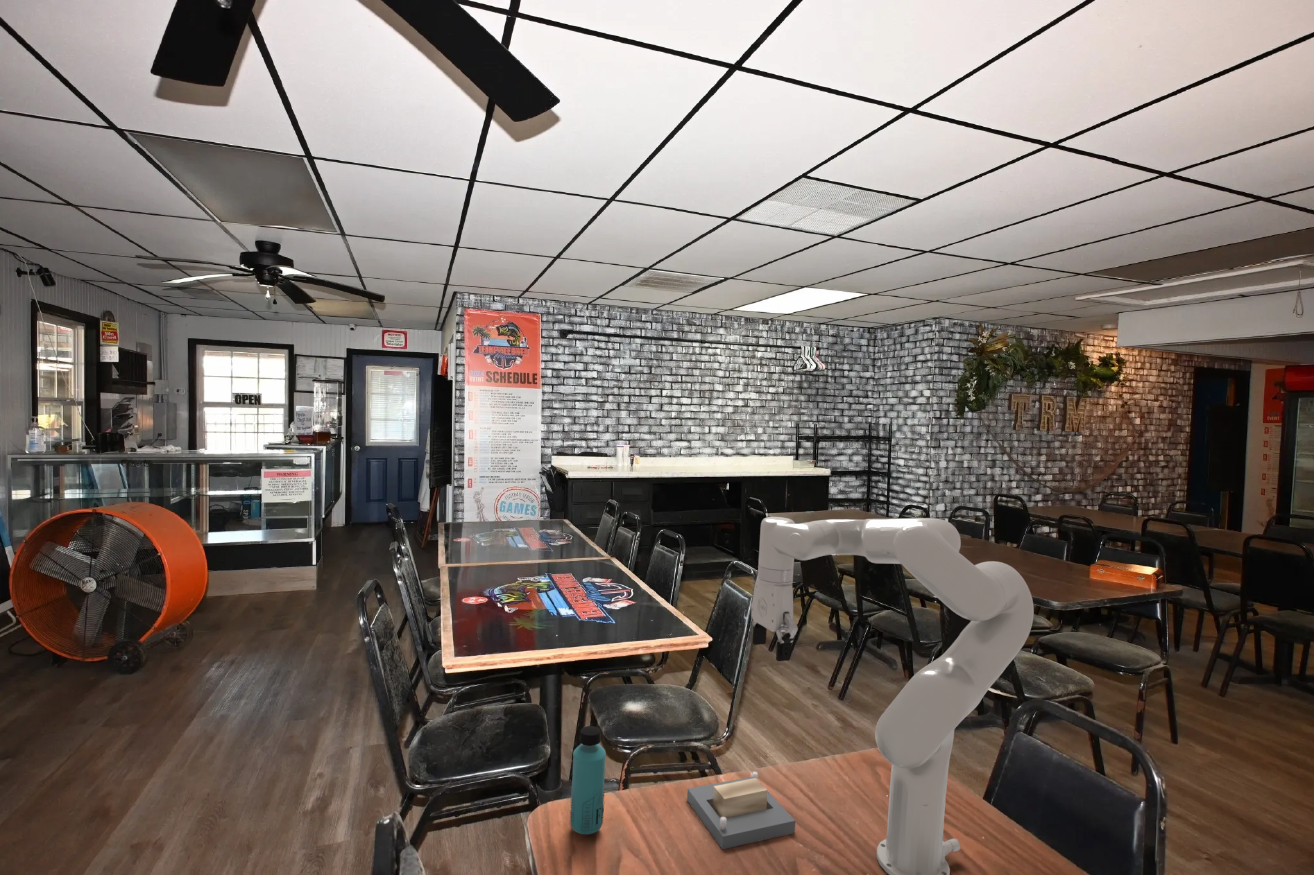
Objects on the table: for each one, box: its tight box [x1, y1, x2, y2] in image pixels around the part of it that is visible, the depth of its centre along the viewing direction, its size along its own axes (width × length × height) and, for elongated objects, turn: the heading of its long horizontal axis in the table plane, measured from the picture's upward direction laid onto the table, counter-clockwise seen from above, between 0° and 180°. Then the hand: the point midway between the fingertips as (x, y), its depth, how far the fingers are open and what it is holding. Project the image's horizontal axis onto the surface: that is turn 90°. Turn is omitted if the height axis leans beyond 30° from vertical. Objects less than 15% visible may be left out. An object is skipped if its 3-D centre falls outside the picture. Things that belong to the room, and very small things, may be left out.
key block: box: [712, 778, 769, 818], centre depth 131 cm, size 4×10×6 cm, turn 113°
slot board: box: [686, 771, 796, 850], centre depth 131 cm, size 16×16×4 cm
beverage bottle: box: [569, 725, 607, 835], centre depth 124 cm, size 6×7×20 cm
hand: (770, 652), depth 141 cm, fingers open, 9 cm apart
